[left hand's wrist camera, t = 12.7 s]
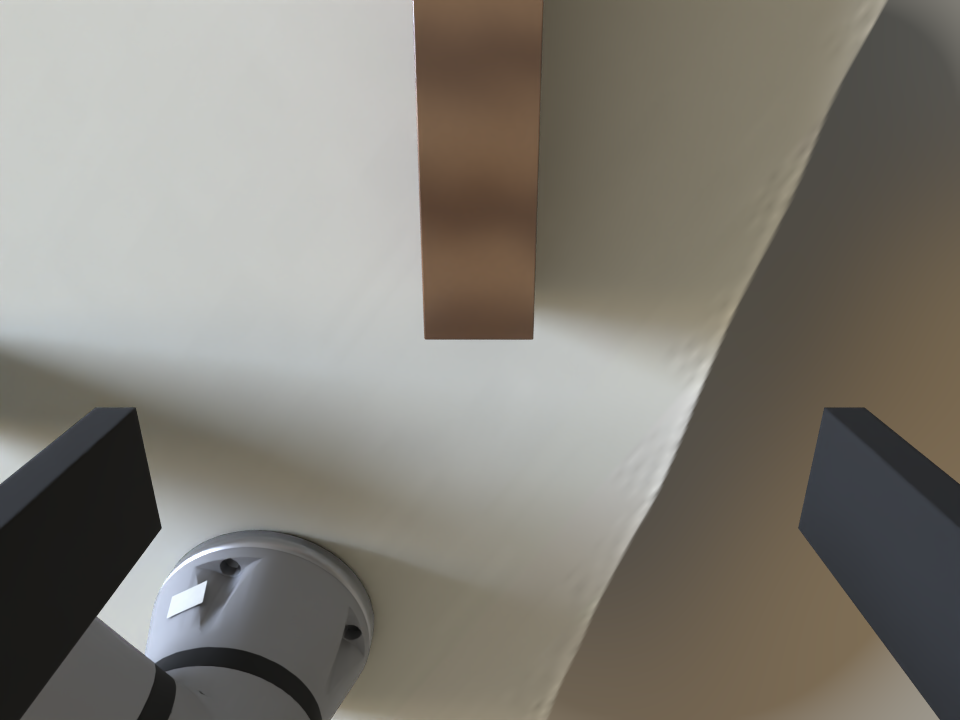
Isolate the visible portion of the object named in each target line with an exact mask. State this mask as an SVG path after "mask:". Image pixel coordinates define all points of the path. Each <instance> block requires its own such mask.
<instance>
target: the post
mask: <svg viewBox="0 0 960 720" xmlns="http://www.w3.org/2000/svg"><path fill="white" fill-rule="evenodd" d="M543 4H544V0H413V27H414V55H415V84H416V112H417V141H418V169H419V198H420V226H421V255H422V283H423V312H424V338H425V339H502V340H532V339H533V329H534V296H535V264H536V231H537V199H538V166H539V134H540V101H541V69H542V37H543Z"/></svg>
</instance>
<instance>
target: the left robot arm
mask: <svg viewBox="0 0 960 720" xmlns="http://www.w3.org/2000/svg"><path fill="white" fill-rule="evenodd" d="M161 528H162V527H161V523H160V518H159V513H158V509H157V504H156V500H155V495H154V490H153V486H152V481H151V476H150V472H149V467H148V462H147V458H146V453H145V449H144V444H143V439H142V435H141V430H140V425H139V421H138V416H137V412H136V408H94V409H93V410H92V411H91V412H89V413H88V414H87V415H86V416H84V417H83V418H82V419H81V420H79V421H78V422H77V423H76V424H75V425H73V426H72V427H71V428H70V429H68V430H67V431H66V432H65V433H63V434H62V435H61V436H60V437H58V438H57V439H56V440H55V441H53V442H52V443H51V444H50V445H48V446H47V447H46V448H45V449H43V450H42V451H41V452H40V453H39V454H37V455H36V456H35V457H34V458H32V459H31V460H30V461H29V462H27V463H26V464H25V465H24V466H22V467H21V468H20V469H19V470H17V471H16V472H15V473H14V474H12V475H11V476H10V477H9V478H7V479H6V480H5V481H4V482H3V483H1V484H0V720H331V718H332V717H333V715H334V714H335V712H336V710H337V709H338V707H339V706H340V704H341V703H342V701H343V700H344V698H345V697H346V695H347V694H348V692H349V691H350V689H351V688H352V686H353V685H354V683H355V682H356V680H357V678H358V677H359V675H360V674H361V672H362V670H363V668H364V666H365V664H366V662H367V658H368V655H369V650H370V646H371V641H372V636H373V630H374V616H373V610H372V605H371V602H370V599H369V596H368V594H367V592H366V590H365V588H364V586H363V585H362V583H361V582H360V580H359V579H358V578H357V576H356V575H355V574H354V573H353V572H352V570H351V569H350V568H349V567H348V566H347V565H346V564H344V563H343V562H342V561H341V560H340V559H339V558H337V557H336V556H335V555H333V554H332V553H330V552H329V551H327V550H325V549H324V548H322V547H320V546H318V545H316V544H314V543H312V542H309V541H307V540H304V539H302V538H298V537H295V536H292V535H288V534H284V533H278V532H272V531H240V532H234V533H228V534H225V535H221V536H218V537H215V538H212V539H210V540H207V541H205V542H203V543H201V544H200V545H198V546H196V547H195V548H193V549H192V550H191V551H189V552H188V553H187V554H186V555H185V556H184V557H183V558H182V559H181V560H180V561H179V562H178V563H177V564H176V566H175V567H174V568H173V570H172V572H171V573H170V575H169V576H168V578H167V579H166V581H165V582H164V584H163V585H162V587H161V589H160V591H159V593H158V595H157V597H156V600H155V604H154V609H153V613H152V618H151V623H150V629H149V634H148V640H147V645H146V651H145V655H144V654H143V653H141V652H140V651H139V650H138V649H136V648H135V647H134V646H132V645H131V644H130V643H129V642H127V641H126V640H125V639H124V638H122V637H121V636H120V635H119V634H118V633H116V632H115V631H114V630H113V629H111V628H110V627H109V626H108V625H106V624H105V623H104V622H103V621H101V620H100V619H99V618H98V617H97V615H98V614H99V612H100V611H101V610H102V608H103V607H104V606H105V604H106V603H107V601H108V600H109V599H110V597H111V596H112V595H113V593H114V592H115V591H116V589H117V588H118V587H119V585H120V584H121V583H122V581H123V580H124V578H125V577H126V576H127V574H128V573H129V572H130V570H131V569H132V568H133V566H134V565H135V564H136V562H137V561H138V560H139V558H140V557H141V555H142V554H143V553H144V551H145V550H146V549H147V547H148V546H149V545H150V543H151V542H152V541H153V539H154V538H155V537H156V535H157V534H158V532H159V531H160V530H161ZM798 528H799V530H800V531H801V532H802V534H803V535H804V536H805V538H806V539H807V541H808V542H809V543H810V545H811V546H812V547H813V549H814V550H815V551H816V553H817V554H818V555H819V557H820V558H821V559H822V561H823V562H824V564H825V565H826V566H827V568H828V569H829V570H830V572H831V573H832V574H833V576H834V577H835V578H836V580H837V581H838V583H839V584H840V585H841V587H842V588H843V589H844V591H845V592H846V593H847V595H848V596H849V597H850V599H851V600H852V601H853V603H854V604H855V606H856V607H857V608H858V610H859V611H860V612H861V614H862V615H863V616H864V618H865V619H866V620H867V622H868V623H869V624H870V626H871V627H872V628H873V630H874V631H875V633H876V634H877V635H878V637H879V638H880V639H881V641H882V642H883V643H884V645H885V646H886V647H887V649H888V650H889V651H890V653H891V654H892V656H893V657H894V658H895V660H896V661H897V662H898V664H899V665H900V666H901V668H902V669H903V670H904V672H905V673H906V674H907V676H908V677H909V679H910V680H911V681H912V683H913V684H914V685H915V687H916V688H917V689H918V691H919V692H920V693H921V695H922V696H923V697H924V699H925V700H926V702H927V703H928V704H929V705H930V707H931V708H932V710H933V711H934V712H935V714H936V715H937V716H938V718H939V719H940V720H960V484H959V483H957V482H956V481H955V480H954V479H953V478H951V477H950V476H949V475H948V474H946V473H945V472H944V471H943V470H941V469H940V468H939V467H938V466H936V465H935V464H934V463H933V462H931V461H930V460H929V459H928V458H926V457H925V456H924V455H923V454H921V453H920V452H919V451H918V450H917V449H915V448H914V447H913V446H912V445H910V444H909V443H908V442H907V441H905V440H904V439H903V438H902V437H900V436H899V435H898V434H897V433H895V432H894V431H893V430H892V429H890V428H889V427H888V426H887V425H885V424H884V423H883V422H882V421H881V420H879V419H878V418H877V417H876V416H874V415H873V414H872V413H871V412H869V411H868V410H867V409H866V408H824V411H823V416H822V421H821V425H820V430H819V435H818V439H817V444H816V449H815V453H814V458H813V462H812V467H811V472H810V476H809V481H808V486H807V490H806V495H805V500H804V504H803V509H802V513H801V518H800V523H799V527H798Z"/></svg>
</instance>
